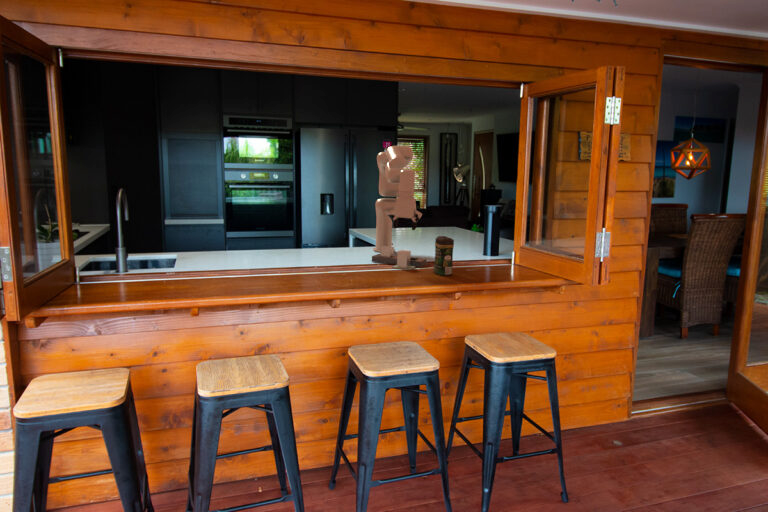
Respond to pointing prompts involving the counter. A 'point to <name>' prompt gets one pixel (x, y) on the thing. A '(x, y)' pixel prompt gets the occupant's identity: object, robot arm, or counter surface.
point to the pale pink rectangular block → (403, 259)
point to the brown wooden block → (387, 251)
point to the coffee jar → (443, 255)
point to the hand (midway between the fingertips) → (404, 228)
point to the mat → (404, 268)
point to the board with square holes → (393, 260)
